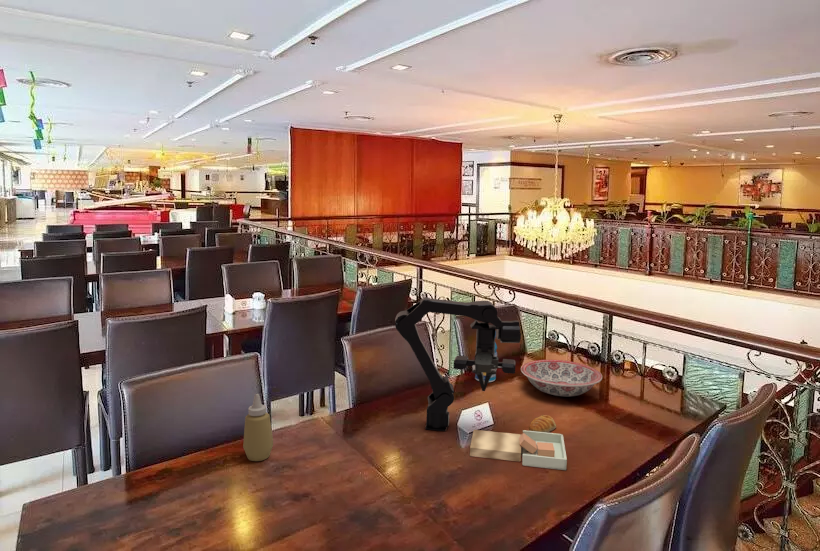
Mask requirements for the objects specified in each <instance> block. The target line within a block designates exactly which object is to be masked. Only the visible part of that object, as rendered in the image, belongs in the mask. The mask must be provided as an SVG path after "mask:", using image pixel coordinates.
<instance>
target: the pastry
mask: <svg viewBox="0 0 820 551" xmlns="http://www.w3.org/2000/svg"><path fill="white" fill-rule="evenodd" d="M556 428H557V425H556V422H555V420H554V418H553V417H552V416H550V415H549V414H548V415H547V414H545V415H544V414H541V415H540V416H539V417H535V418H534V419H533V420H532V421H531V422H530V424H529V426H528V431H536V432H546V433H551V432H552V431H554V430H555V429H556Z"/></svg>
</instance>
